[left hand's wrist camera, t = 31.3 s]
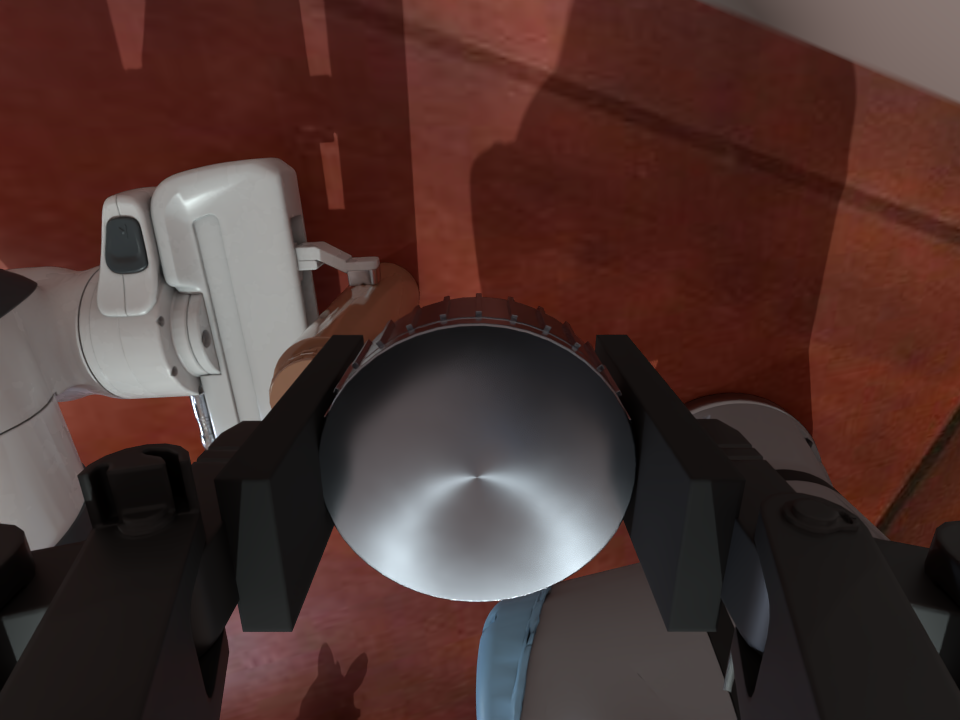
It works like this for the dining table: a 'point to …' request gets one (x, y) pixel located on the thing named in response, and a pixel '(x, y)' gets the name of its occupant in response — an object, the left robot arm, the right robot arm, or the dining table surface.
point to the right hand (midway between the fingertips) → (384, 318)
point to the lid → (477, 451)
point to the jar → (348, 322)
